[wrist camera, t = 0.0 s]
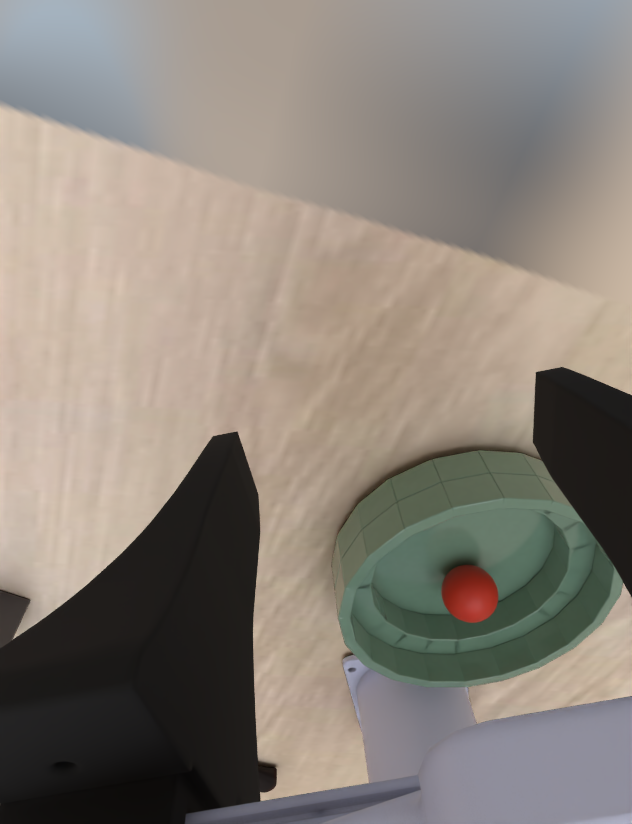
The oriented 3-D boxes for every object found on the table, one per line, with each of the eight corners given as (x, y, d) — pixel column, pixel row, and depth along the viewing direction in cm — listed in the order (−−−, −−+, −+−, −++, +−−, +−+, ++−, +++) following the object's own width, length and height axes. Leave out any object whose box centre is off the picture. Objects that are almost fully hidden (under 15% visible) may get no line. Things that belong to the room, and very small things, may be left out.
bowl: (573, 603, 33) (607, 662, 30) (352, 643, 34) (361, 705, 30) (596, 419, 26) (645, 471, 22) (309, 475, 26) (315, 533, 23)
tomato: (487, 583, 31) (506, 628, 28) (436, 593, 31) (451, 638, 28) (486, 548, 29) (507, 593, 27) (433, 558, 29) (448, 604, 27)
